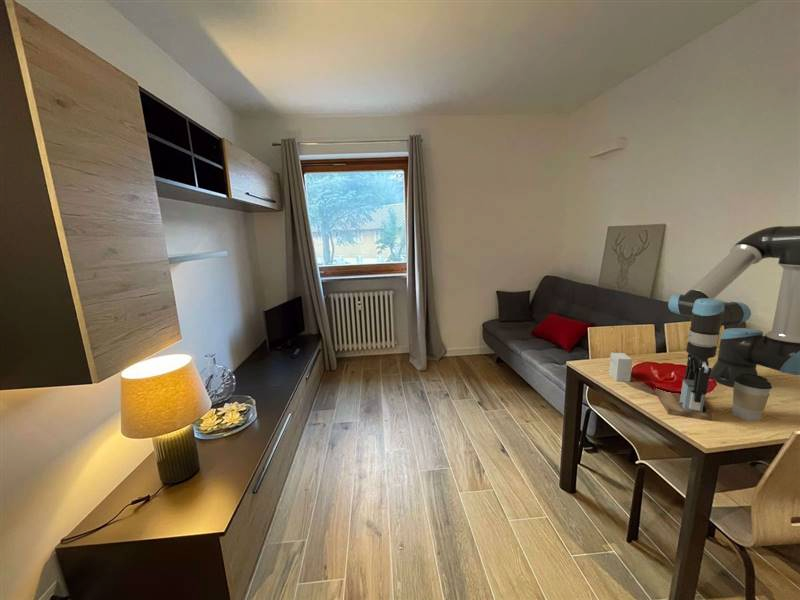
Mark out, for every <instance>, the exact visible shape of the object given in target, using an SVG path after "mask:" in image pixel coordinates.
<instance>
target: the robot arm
mask: <svg viewBox="0 0 800 600" xmlns="http://www.w3.org/2000/svg"><path fill="white" fill-rule="evenodd" d="M769 258H771V259H772V258H773V259H778V261H777V262H778V263H777V264H778V265H779V266H780V267H781V268H782V274H781V281H780V285H779V291H778V296H777V301H776V306H775V307H776V308H775V311H774V317H773V322H772V327H771V330H770V331H769V332H766V333H765V334H764V331H762V330H760V329H755V328H745V327H736V328H735V327H733V328H732V327H731V328H730V327H729V328H725V329H724V330H723V331H722V333H721V336H720V332H721V327H722V326H730V325H732V326H733V325H738V324H742V323H746V322H747V321H748V320H749V319H750V318H751V315H752V312H751V308H750V307H749V305H747V304H746V303H743V302H740V301H729V302H728V301H723V300H721V299H715V298H716V297H718V296H719V295H720V294H721V293H722V292H723V291H724V290H725V289H726V288H727V287H729V286H730V285H731V284H732V283H733V282H734V281H735V280H736V279H738V278H739V277H740V276H741V275H742V274H743V273H744V272H745V271H746V270H747V269H749V267H751V266H752V265H755V264H758V263H759V262H761V261H762V260H764V259H769ZM667 306H668V310H669V311H670V312H671V313H674V314H677V315H680V316H686V317H690V318H691V319H690V328H689V332H688V333H686V335H687V336H688V338H687V340H688V342H687V344H686V353H687V362H686V369H685V373H684V379H688V380H694V391H692V390H691V392H692V395H691V400H690V406H689V408H690V409H693V410H699V411H700V407H701V401H702V396H703V394H704V395H705V396H706V395H707V392H708V387H709V382H710V381H709V380H710V377H709V376H711V377H712V378H713V379H715V380H716V381H717V382H716V381H715V382H716V383H718V384H721V385H724V386H728V387H731V388H734V383H735V381H734V378H735V377H736V376H738V375H739V374H740V373H742V374H743V373H747V374H754V375H758V376H759V374H758V370H757V365H758V366H761V367H765V368H768V369H772V370H775V371H778V372H780V373H784V374H785V373H786V374H790V375H793V376H800V225H795V226H794V225H793V226H791V225H790V226H788V225H785V226H784V225H783V226H781V225H780V226H779V225H778V226H770V227H767V228H766V227H765V228H763V229H760V230H758V231H755V232H753V233H751V234H749V235H747V236H746V237H744V238H742V239H741V240H738V241H737V243H735V244H734V245H733V246H732V247H731V248H730V250H729V254H727V256H726V257H724V258H723V259H722V260H721V261H720V262H719V263H718V264H716V266H714V267H713V268H712V269H710V271H709V272H708V273H707V274H706V275H705V276H703V278H701V279H700V280H699V281H698V282H697V283H696V284H695V285H694V286H693V287H691V289H689V290H688V291H687V292H686V293H684V294H679V293H678V294H674V295H672V296H671V297H670V298H669V299H668V303H667ZM719 340H720V343H719ZM718 344H719V349H718V354H717V346H718ZM716 355H717V360H716V362H714V364H713V366H712V367H709V365H710V364H709V363H710V362H709V360H708V359H711V358H712V359H713V358H715V357H716Z"/></svg>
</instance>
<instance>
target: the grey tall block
mask: <svg viewBox="0 0 800 600" xmlns="http://www.w3.org/2000/svg"><path fill="white" fill-rule="evenodd" d="M681 384H682V385H681V389H680V390H681V396H680V402H678V404H680V405H681V406H682V407H683V409H684V410H689V411H696V412H702V411H703V405H704V401H705V398H706V395H704V394H703V396H702V401H701V407H700V411H699V410H693V409H690V408H689V406H690V400H691V395H692V392H691V390H692V391H694V380H688V379H685V378H682V383H681Z"/></svg>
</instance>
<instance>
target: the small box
mask: <svg viewBox="0 0 800 600" xmlns="http://www.w3.org/2000/svg"><path fill="white" fill-rule="evenodd" d="M632 365H633V358H631V357H630V356H629V355H627V353H624V352H610V360H609V370H608V374H609V375H610V377H612V378H613V379H614V380H615V382H631V375H632Z"/></svg>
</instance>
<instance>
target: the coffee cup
mask: <svg viewBox="0 0 800 600" xmlns="http://www.w3.org/2000/svg"><path fill="white" fill-rule="evenodd" d="M734 381H735V383H734V387H732V388H733V390H732V391H733V392H732V415H733V416H735V417H736V418H738V419H741V420H744V421H747V420H748V421H747V422H754V421H757V422H760V421H759V420H761V418H762V416H763V412H764V410H765V408H766V405H767V403H768V399H769V397H770V391H771V389H772V388H773V387H772V383H771V382H770V381H769V380H768V379H767V378H766V377H763V376H761V375H759V374H758V375H754V374H747V373H743V374H742V373H740V374H739V375H738V376H736V377H735V378H734Z"/></svg>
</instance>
